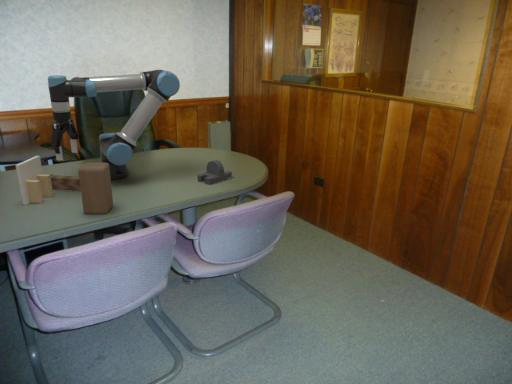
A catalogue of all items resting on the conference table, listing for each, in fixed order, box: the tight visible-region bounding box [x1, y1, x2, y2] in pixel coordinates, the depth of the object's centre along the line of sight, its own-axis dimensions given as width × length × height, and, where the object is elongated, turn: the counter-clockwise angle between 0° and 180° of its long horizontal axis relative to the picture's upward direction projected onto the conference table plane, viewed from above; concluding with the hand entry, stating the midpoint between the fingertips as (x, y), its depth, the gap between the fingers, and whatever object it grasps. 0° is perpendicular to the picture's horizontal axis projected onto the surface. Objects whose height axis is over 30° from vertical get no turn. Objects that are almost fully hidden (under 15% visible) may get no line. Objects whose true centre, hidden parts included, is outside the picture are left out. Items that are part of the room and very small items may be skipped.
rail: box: [49, 173, 81, 192], centre depth 185 cm, size 18×4×6 cm, turn 87°
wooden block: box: [77, 162, 114, 215], centre depth 161 cm, size 10×10×20 cm
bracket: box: [197, 159, 233, 186], centre depth 207 cm, size 10×18×11 cm, turn 141°
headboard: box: [15, 155, 54, 206], centre depth 170 cm, size 6×15×18 cm, turn 177°
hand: (67, 156), depth 180 cm, fingers open, 13 cm apart
